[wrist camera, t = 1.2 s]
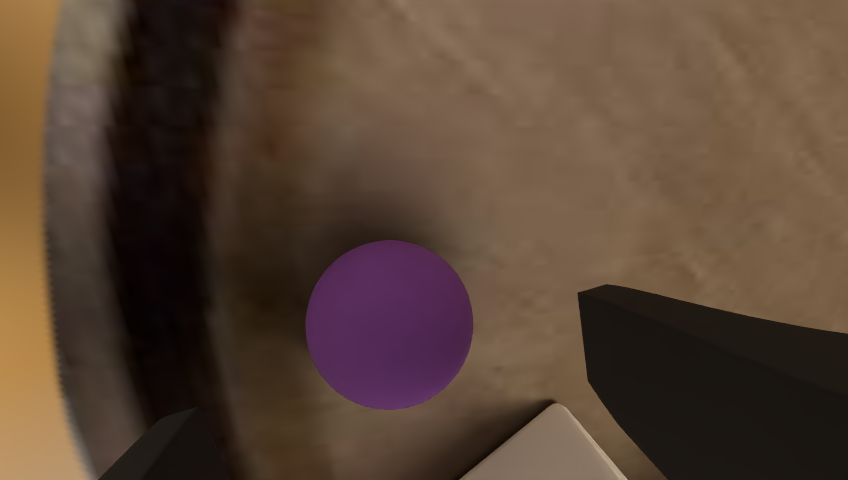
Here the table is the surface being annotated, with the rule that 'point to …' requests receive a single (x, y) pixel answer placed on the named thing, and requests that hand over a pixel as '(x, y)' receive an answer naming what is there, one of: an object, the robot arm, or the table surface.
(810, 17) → the table surface
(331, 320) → the ball
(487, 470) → the cylinder-topped cream block
